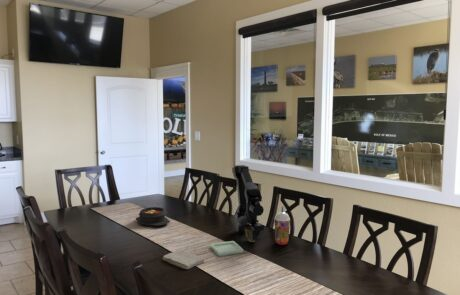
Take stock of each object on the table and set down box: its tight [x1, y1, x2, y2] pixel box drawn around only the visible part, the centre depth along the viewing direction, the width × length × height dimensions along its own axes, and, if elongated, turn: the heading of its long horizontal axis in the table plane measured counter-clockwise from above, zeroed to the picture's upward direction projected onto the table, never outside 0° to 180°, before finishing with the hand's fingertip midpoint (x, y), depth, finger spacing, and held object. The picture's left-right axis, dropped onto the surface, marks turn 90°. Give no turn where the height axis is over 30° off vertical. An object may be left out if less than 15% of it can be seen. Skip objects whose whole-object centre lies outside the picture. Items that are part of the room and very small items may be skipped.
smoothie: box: [273, 206, 291, 246], centre depth 196 cm, size 8×8×20 cm
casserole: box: [135, 206, 171, 227], centre depth 231 cm, size 25×19×8 cm
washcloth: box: [162, 249, 205, 270], centre depth 174 cm, size 12×18×3 cm, turn 51°
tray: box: [209, 240, 244, 257], centre depth 187 cm, size 13×13×2 cm
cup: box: [244, 226, 256, 243], centre depth 199 cm, size 8×7×8 cm
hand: (251, 238), depth 199 cm, fingers closed on cup, 6 cm apart
